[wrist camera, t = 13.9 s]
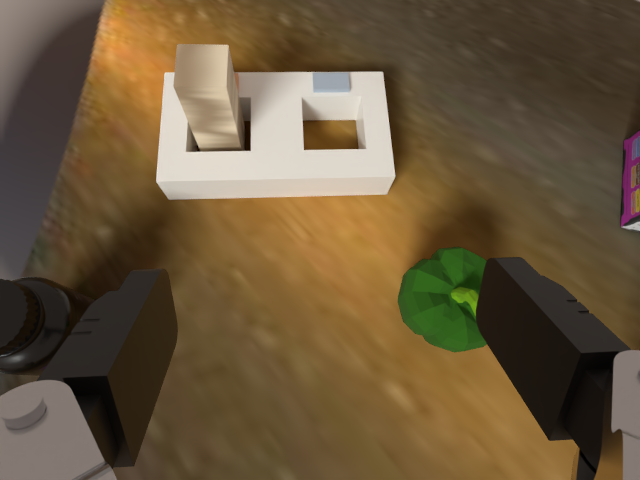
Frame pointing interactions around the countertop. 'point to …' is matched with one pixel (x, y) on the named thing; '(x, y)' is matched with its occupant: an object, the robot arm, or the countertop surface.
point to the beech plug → (210, 96)
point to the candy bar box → (631, 184)
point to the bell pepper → (444, 299)
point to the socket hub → (283, 140)
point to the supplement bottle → (35, 322)
